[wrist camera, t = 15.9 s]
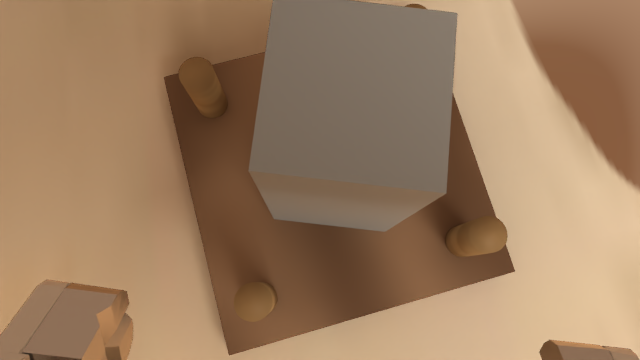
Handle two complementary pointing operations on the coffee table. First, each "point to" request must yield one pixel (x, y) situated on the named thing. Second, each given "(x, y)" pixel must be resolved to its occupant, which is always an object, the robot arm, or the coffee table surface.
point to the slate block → (353, 112)
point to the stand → (315, 239)
